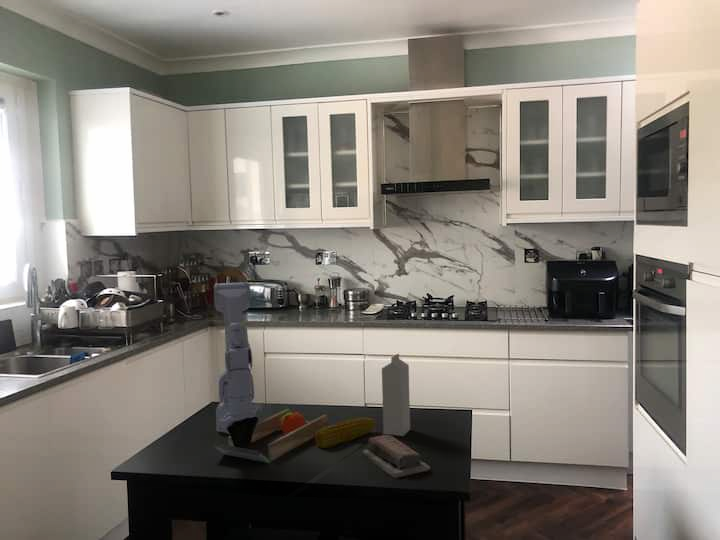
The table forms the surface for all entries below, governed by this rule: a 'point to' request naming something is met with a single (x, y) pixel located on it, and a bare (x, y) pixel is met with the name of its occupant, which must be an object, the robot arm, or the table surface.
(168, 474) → the table surface
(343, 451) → the table surface
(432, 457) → the table surface
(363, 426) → the food
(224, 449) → the panel
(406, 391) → the milk
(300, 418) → the clementine
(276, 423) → the crate
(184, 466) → the table surface
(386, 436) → the packaged product
